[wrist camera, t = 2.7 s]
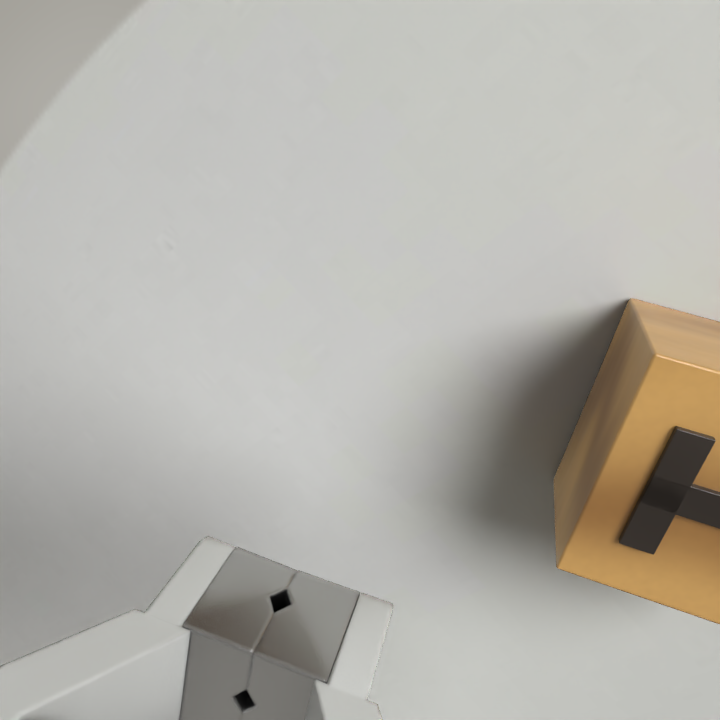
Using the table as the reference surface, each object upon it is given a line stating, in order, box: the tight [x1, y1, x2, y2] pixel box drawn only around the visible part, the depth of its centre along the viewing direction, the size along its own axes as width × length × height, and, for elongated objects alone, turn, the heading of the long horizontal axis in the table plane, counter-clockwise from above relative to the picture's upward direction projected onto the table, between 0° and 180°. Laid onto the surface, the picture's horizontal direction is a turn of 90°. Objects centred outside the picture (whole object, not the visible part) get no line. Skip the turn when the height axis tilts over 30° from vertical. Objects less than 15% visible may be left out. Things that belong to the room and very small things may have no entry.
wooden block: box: [554, 298, 720, 624], centre depth 15 cm, size 6×6×4 cm
